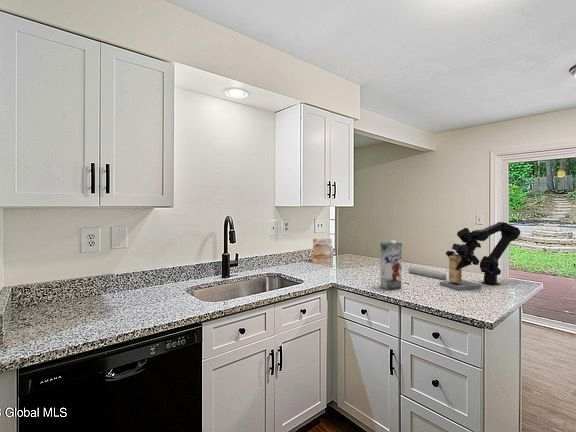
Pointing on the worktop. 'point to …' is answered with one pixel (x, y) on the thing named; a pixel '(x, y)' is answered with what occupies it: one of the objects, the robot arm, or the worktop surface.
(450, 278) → the pin
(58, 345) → the worktop surface
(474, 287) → the socket board
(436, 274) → the tube
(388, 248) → the juice carton
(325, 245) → the coffeecake box
